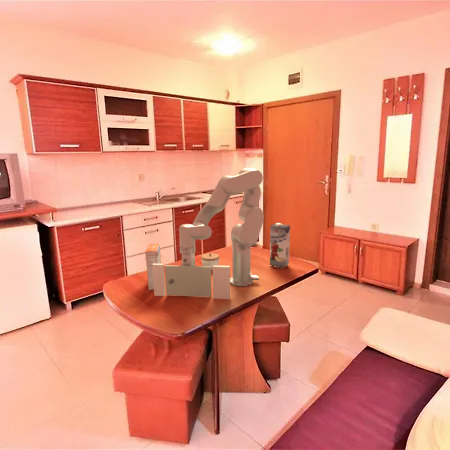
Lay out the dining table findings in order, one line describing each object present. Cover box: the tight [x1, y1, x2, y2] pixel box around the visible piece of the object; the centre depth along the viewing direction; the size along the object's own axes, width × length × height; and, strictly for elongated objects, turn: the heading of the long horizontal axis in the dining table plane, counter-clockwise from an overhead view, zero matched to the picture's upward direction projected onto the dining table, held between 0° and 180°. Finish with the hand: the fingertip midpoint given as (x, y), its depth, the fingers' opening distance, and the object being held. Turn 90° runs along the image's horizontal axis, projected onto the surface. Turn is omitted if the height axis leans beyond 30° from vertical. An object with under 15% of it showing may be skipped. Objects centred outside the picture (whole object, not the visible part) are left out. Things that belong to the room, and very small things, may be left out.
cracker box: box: [144, 242, 162, 291], centre depth 166 cm, size 14×6×21 cm, turn 5°
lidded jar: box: [201, 252, 220, 271], centre depth 190 cm, size 11×11×9 cm
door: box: [164, 264, 213, 298], centre depth 151 cm, size 22×3×15 cm, turn 83°
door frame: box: [152, 263, 231, 300], centre depth 152 cm, size 37×2×16 cm, turn 83°
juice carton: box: [269, 222, 291, 269], centre depth 190 cm, size 9×10×27 cm
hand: (188, 284), depth 160 cm, fingers closed
